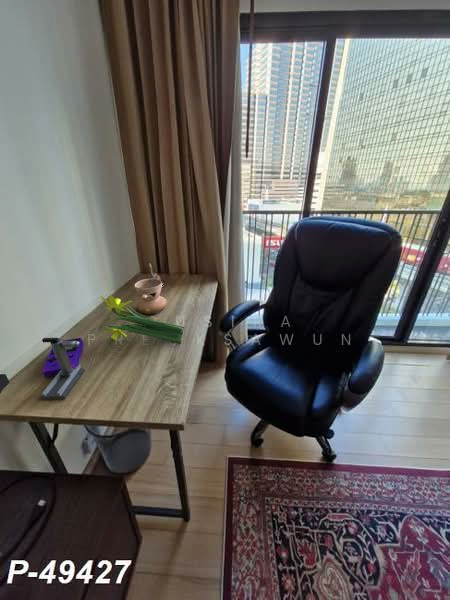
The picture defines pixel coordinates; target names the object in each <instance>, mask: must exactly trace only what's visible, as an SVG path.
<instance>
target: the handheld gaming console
mask: <svg viewBox="0 0 450 600" xmlns="http://www.w3.org/2000/svg"><path fill="white" fill-rule="evenodd" d="M62 341H78V342H79V343H80V344H79V346H77V347H65V350H66V352H67V355H68V358H69V360H70V363H71V366H72V368H76V367H77V366H78V365H80V364H79V363H80V358H81V357H82V354H83V351H84V341H83V338H82V337H75V338H70V339H64V340H62ZM60 371H61V369H60V366H59V364H58V361H57V359H56V356H55V354H54V351H53V349H52V348H50V352H49V353H48V356H47V358H46V360H45V363H44V365H43V368H42V370H41V373H42V375H43V377H44V378H48V377H56V375H57V374H58V373H59V372H60Z"/></svg>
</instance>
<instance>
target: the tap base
mask: <svg viewBox="0 0 450 600" xmlns="http://www.w3.org/2000/svg"><path fill="white" fill-rule="evenodd" d="M74 369H75V370H74V371H73V372H72V374H71V375H70V376H69V377H62V376H61V374H62V371H60V372H59V373H58V374H57V375H55V376H54V378H53V379H52V380H51V381H50V383H48V385H47V386H46V387H45V388H44V390H43V391H42V392H41V394H40V396H39V397H40V400H41V401H60V400H61V401H62V400H63V401H64V400H66V399H67V398H68V396H69V395H70V393H72V391H73V389H74V388H75V387H76V384H78V382H79V381H80V379H81V377H82V376H83V375H84V373H85V372H86V371H85V368H84V367H81V365H80V364H78V366H77V367H76V368H74Z"/></svg>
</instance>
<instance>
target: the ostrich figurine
mask: <svg viewBox="0 0 450 600" xmlns="http://www.w3.org/2000/svg"><path fill="white" fill-rule="evenodd" d="M147 267H148V268H149V273H150V274H149V275H147V276H146V279H150V278H153V279H159V280H160V281H161V279H162V278H161V276H160V275H159V274H158V273H155V272H153V267H152V263H148V264H147Z"/></svg>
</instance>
